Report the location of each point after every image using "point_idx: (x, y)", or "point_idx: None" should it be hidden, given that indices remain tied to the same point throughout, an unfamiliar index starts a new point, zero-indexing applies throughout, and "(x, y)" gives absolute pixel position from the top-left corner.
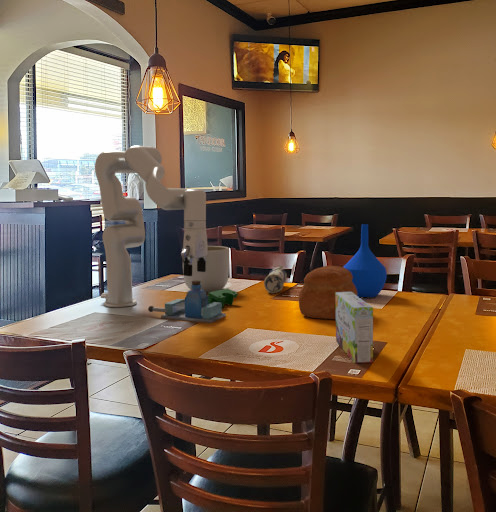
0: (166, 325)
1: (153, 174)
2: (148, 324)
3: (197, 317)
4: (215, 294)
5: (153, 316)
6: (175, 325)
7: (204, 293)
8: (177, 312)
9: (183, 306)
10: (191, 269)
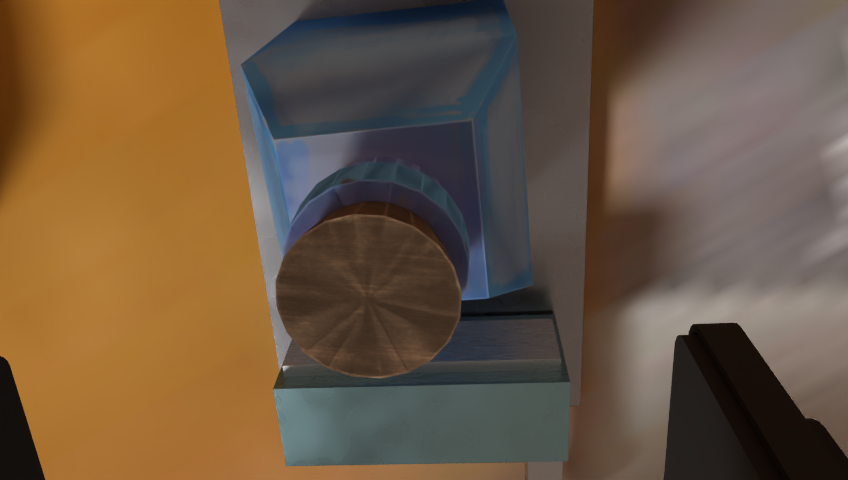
0: (834, 200)
1: None
2: (833, 362)
3: (535, 28)
4: None
5: None
6: (814, 119)
7: (312, 95)
8: None
9: None
10: (804, 431)
